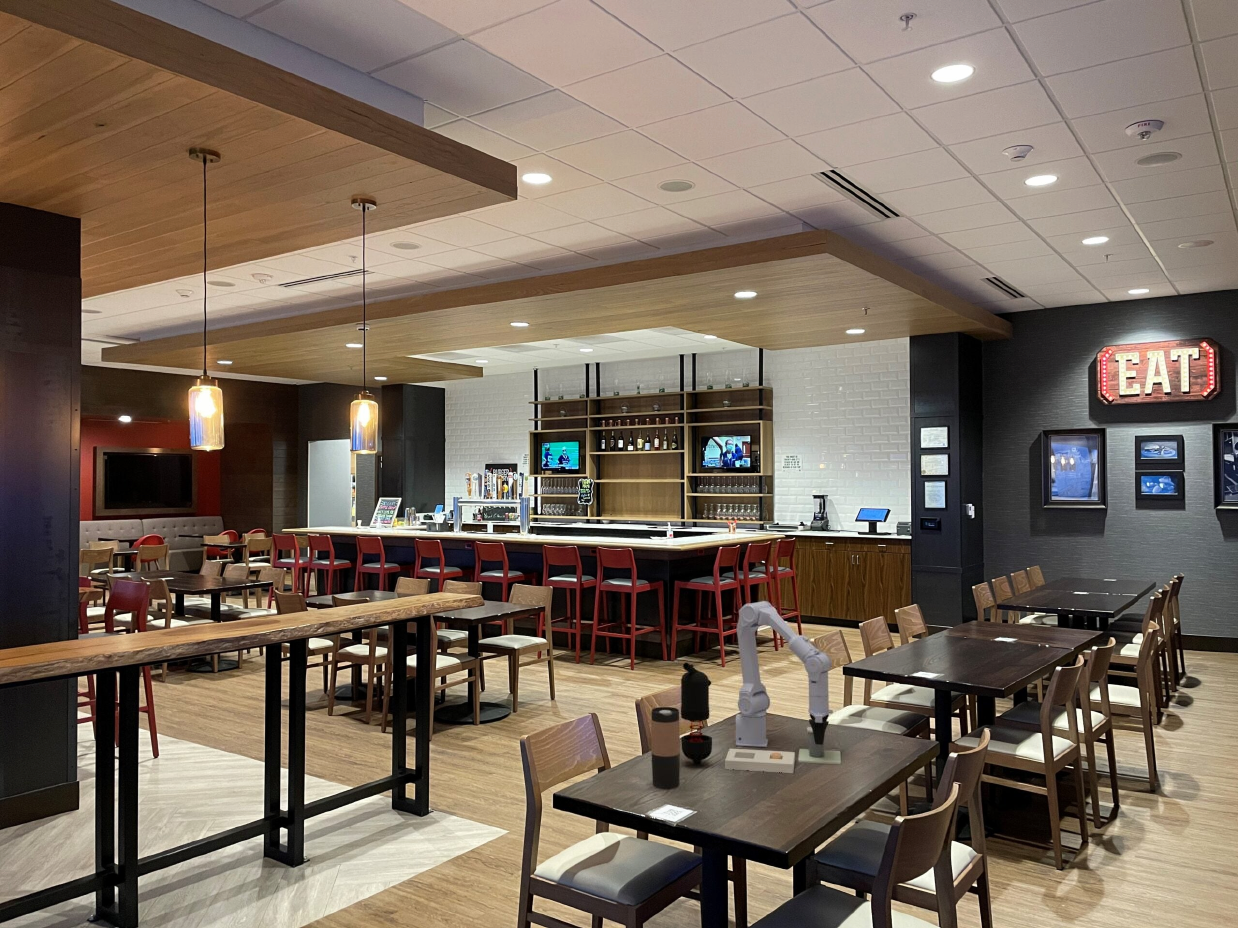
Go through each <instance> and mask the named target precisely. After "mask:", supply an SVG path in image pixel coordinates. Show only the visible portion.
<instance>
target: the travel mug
mask: <svg viewBox="0 0 1238 928" xmlns="http://www.w3.org/2000/svg"><path fill="white" fill-rule="evenodd" d="M650 739H651V742H650V743H651V745H650V746H651V749H650V750H651V770H652V773H651V774H652V786H653V787H655V788H657V789H660V790H661V789H662V790H672V789H677V788H678V787H679V786H680V768H681V767H680V765H681V763H680V762H681V746H680V745H681V743H680V739H681V738H680V710H679V708H676V707H673V706H672V707H671V706H659V707H658V706H657V707H654V708H652V709H651V738H650Z"/></svg>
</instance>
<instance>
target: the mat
mask: <svg viewBox="0 0 1238 928" xmlns="http://www.w3.org/2000/svg"><path fill="white" fill-rule="evenodd" d="M797 759H798V761H797V762H798V763H806V764H809V763H810V764H822V765H823V764H826V765H839V766H840V765H841V763H842V761H841V751H840V750H825V749H824V756H823V757H811V756H809V748H808V749H807V748H799V752H798V758H797Z"/></svg>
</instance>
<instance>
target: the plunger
mask: <svg viewBox="0 0 1238 928" xmlns="http://www.w3.org/2000/svg"><path fill="white" fill-rule="evenodd" d="M771 759H781V754H779V753H772V754H771Z"/></svg>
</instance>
